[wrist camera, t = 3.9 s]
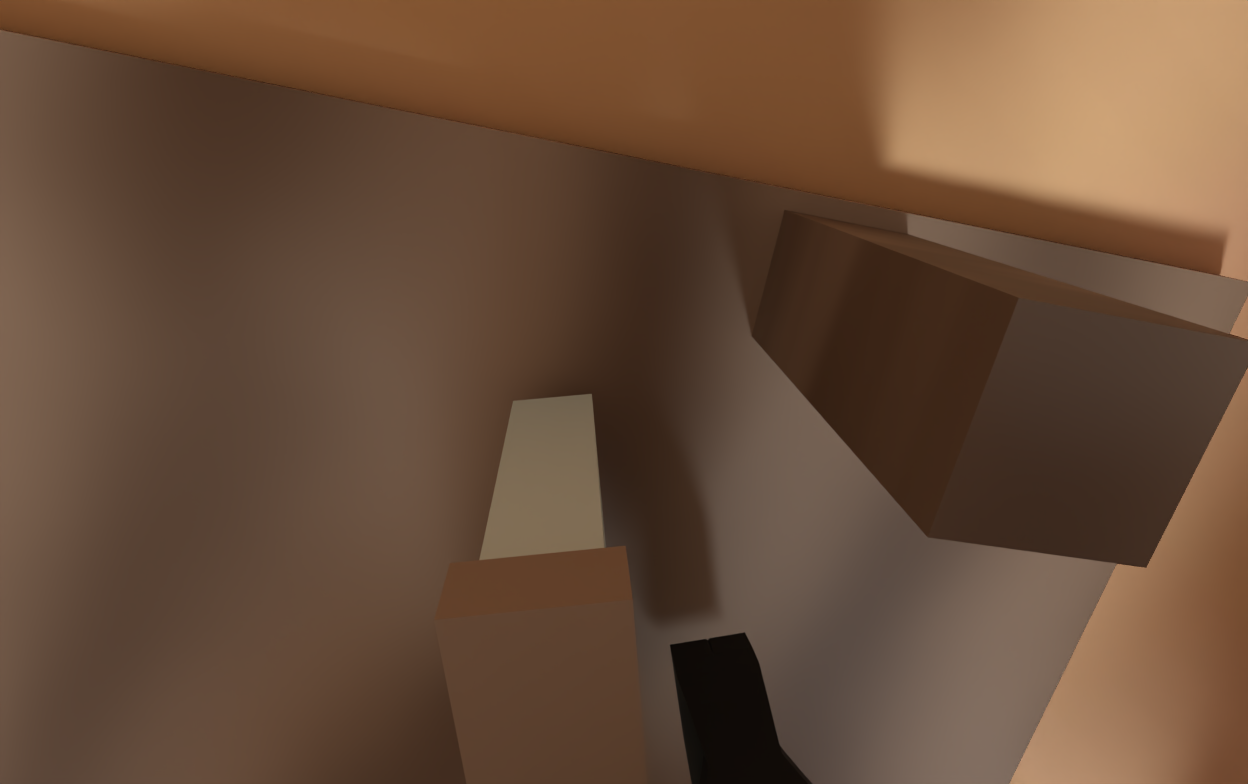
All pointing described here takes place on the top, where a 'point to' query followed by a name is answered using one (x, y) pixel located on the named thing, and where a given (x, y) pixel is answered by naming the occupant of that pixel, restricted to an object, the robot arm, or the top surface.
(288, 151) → the brown piece
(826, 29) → the top surface
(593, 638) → the panel
